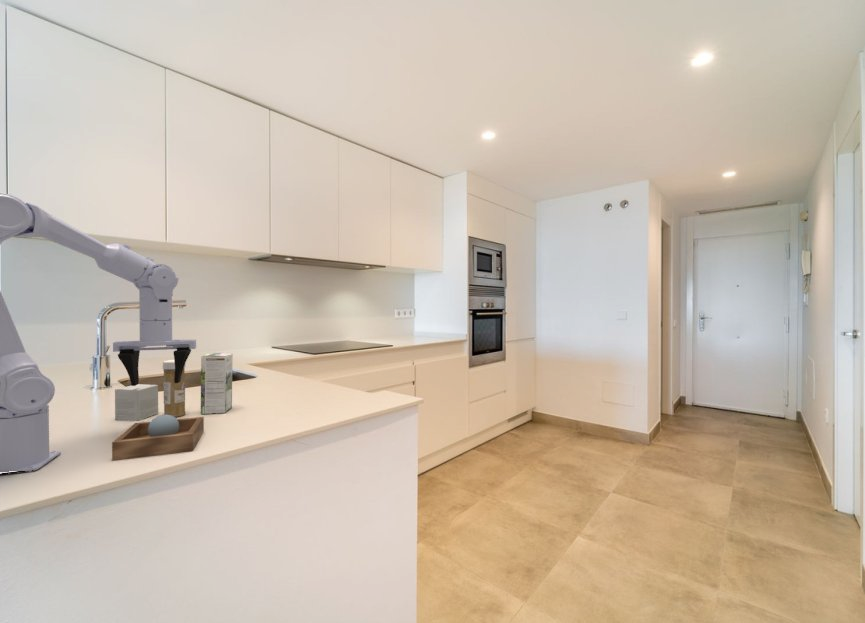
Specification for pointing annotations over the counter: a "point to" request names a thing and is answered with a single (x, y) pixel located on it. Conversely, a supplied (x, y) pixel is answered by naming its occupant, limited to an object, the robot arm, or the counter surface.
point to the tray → (157, 440)
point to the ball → (163, 426)
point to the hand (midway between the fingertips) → (156, 383)
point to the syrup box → (216, 383)
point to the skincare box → (136, 402)
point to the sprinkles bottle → (173, 391)
